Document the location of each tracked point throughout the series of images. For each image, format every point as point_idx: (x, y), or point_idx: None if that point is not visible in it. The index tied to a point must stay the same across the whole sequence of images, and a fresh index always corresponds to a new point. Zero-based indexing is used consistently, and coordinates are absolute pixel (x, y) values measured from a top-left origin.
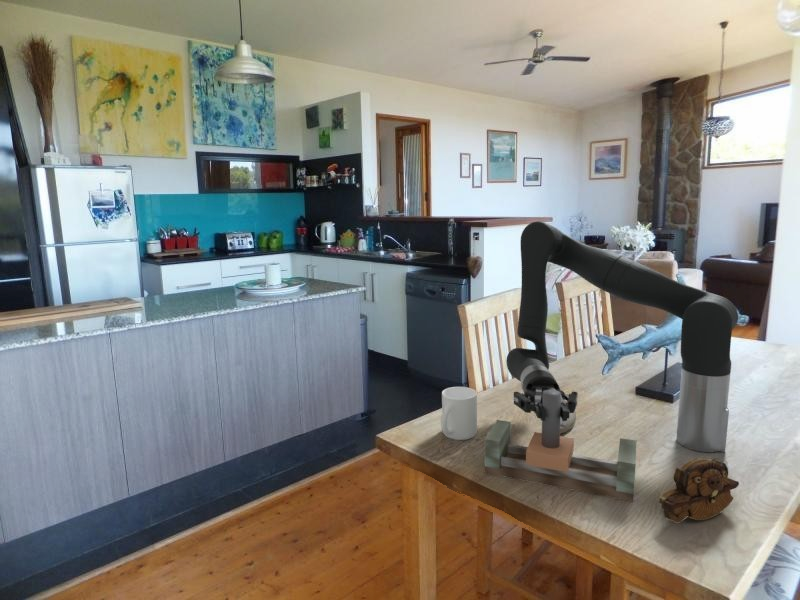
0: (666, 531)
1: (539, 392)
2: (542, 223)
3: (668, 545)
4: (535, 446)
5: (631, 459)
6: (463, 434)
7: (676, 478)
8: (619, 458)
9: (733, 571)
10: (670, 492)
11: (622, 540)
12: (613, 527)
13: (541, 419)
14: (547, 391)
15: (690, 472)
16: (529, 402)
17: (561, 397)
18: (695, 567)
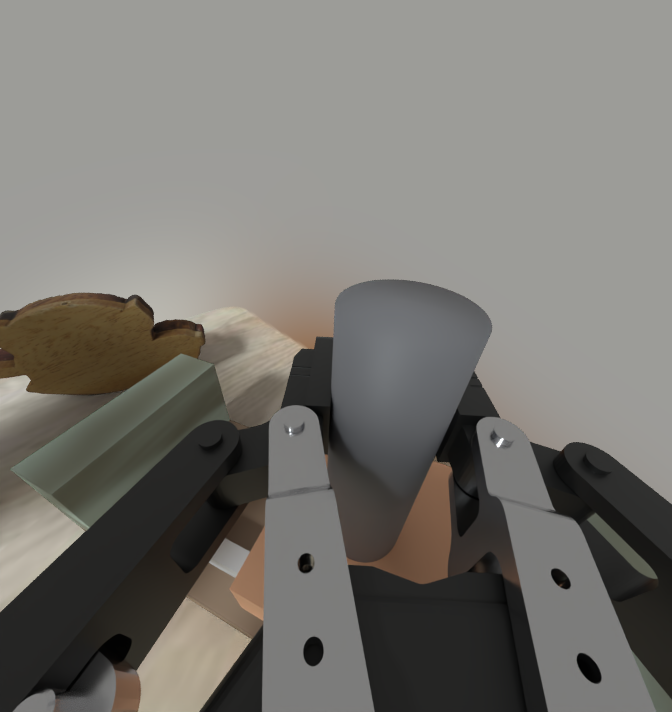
0: (215, 360)
1: (575, 673)
2: None
3: (236, 343)
4: (423, 501)
5: (171, 368)
6: None
7: (151, 315)
8: (198, 373)
9: (199, 317)
10: (177, 331)
11: (288, 350)
12: (287, 368)
13: None
14: (450, 328)
15: (123, 299)
16: (566, 448)
17: (274, 493)
18: (234, 322)
